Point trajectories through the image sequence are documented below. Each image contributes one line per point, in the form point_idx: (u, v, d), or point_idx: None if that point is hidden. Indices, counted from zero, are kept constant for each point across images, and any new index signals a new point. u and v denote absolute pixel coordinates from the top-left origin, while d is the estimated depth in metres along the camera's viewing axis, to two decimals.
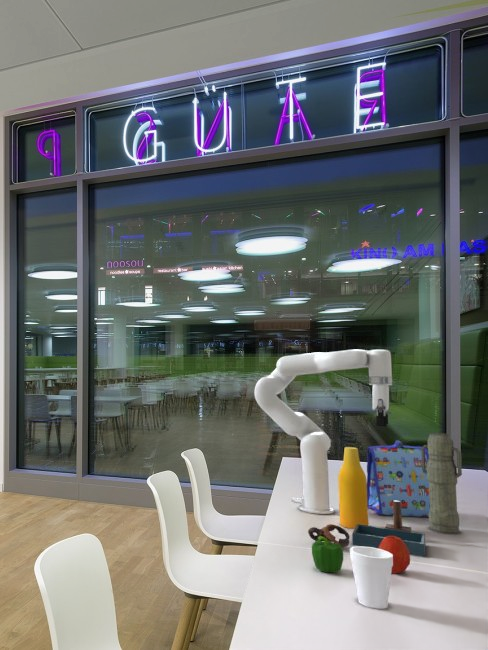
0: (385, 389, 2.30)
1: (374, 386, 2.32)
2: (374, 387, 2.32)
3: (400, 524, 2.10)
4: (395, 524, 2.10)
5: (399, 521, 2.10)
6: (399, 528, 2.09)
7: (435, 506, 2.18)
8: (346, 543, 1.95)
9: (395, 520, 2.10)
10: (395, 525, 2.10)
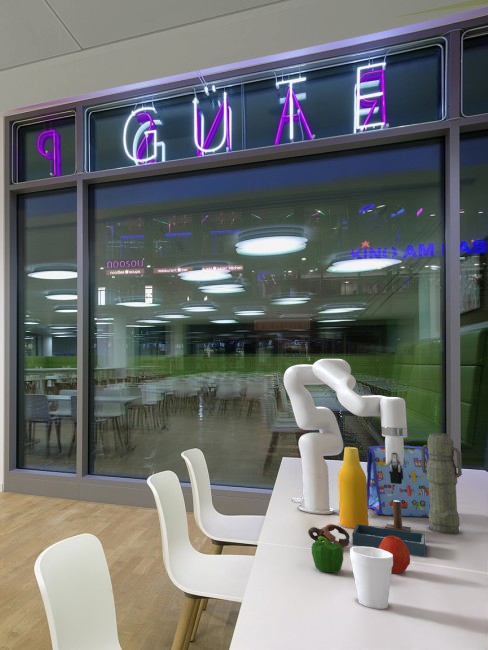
0: (400, 442, 2.08)
1: (387, 438, 2.10)
2: (387, 439, 2.10)
3: (400, 524, 2.10)
4: (395, 524, 2.10)
5: (399, 521, 2.10)
6: (399, 528, 2.09)
7: (435, 506, 2.18)
8: (346, 543, 1.95)
9: (395, 520, 2.10)
10: (395, 525, 2.10)
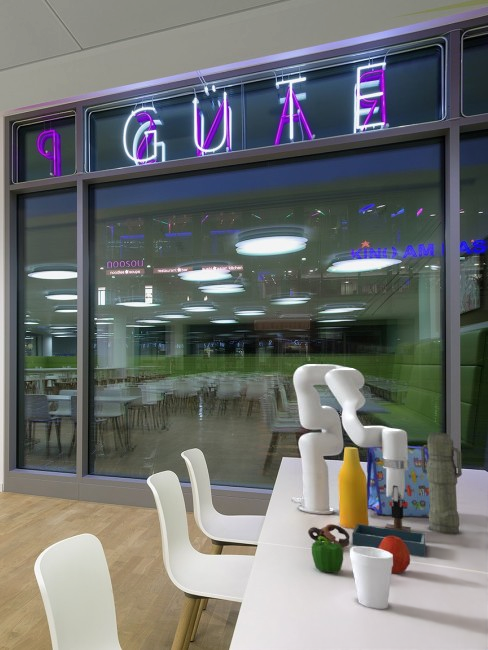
0: (401, 475, 2.08)
1: (388, 471, 2.10)
2: (388, 472, 2.10)
3: (400, 524, 2.10)
4: (395, 524, 2.10)
5: (399, 521, 2.10)
6: (399, 528, 2.09)
7: (435, 506, 2.18)
8: (346, 543, 1.95)
9: (395, 520, 2.10)
10: (395, 525, 2.10)
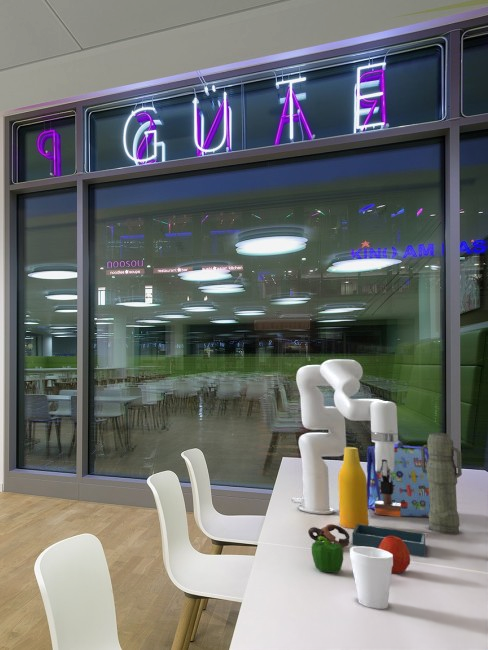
0: (390, 448, 1.99)
1: (377, 444, 2.01)
2: (377, 445, 2.01)
3: (390, 500, 2.01)
4: (385, 500, 2.01)
5: (388, 497, 2.01)
6: (389, 504, 2.00)
7: (435, 506, 2.18)
8: (346, 543, 1.95)
9: (385, 496, 2.01)
10: (385, 501, 2.01)
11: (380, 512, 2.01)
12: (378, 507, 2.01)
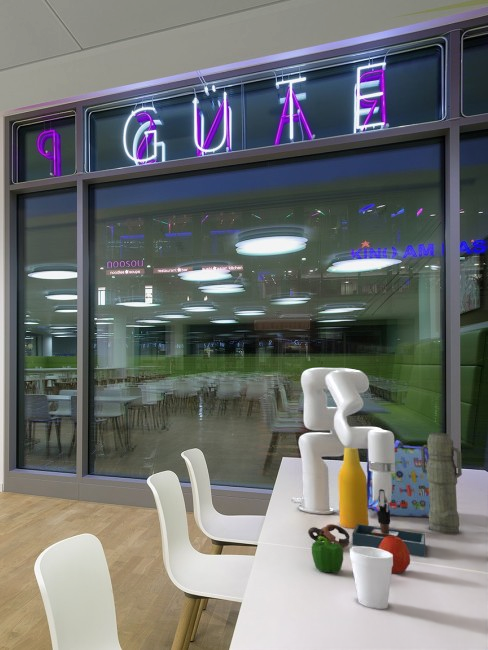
0: (387, 478, 1.98)
1: (374, 474, 2.00)
2: (374, 475, 2.00)
3: (387, 529, 2.00)
4: (382, 529, 2.01)
5: (385, 526, 2.00)
6: (386, 533, 1.99)
7: (435, 506, 2.18)
8: (346, 543, 1.95)
9: (381, 525, 2.01)
10: (382, 530, 2.01)
11: None
12: None
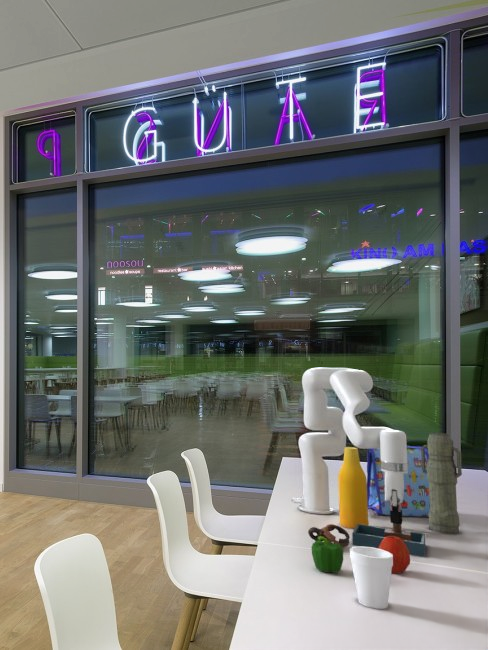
0: (400, 478, 1.98)
1: (387, 474, 2.00)
2: (387, 475, 2.00)
3: (400, 529, 2.00)
4: (394, 529, 2.01)
5: (398, 525, 2.00)
6: (399, 533, 2.00)
7: (435, 506, 2.18)
8: (346, 543, 1.95)
9: (394, 524, 2.01)
10: (394, 530, 2.01)
11: None
12: None
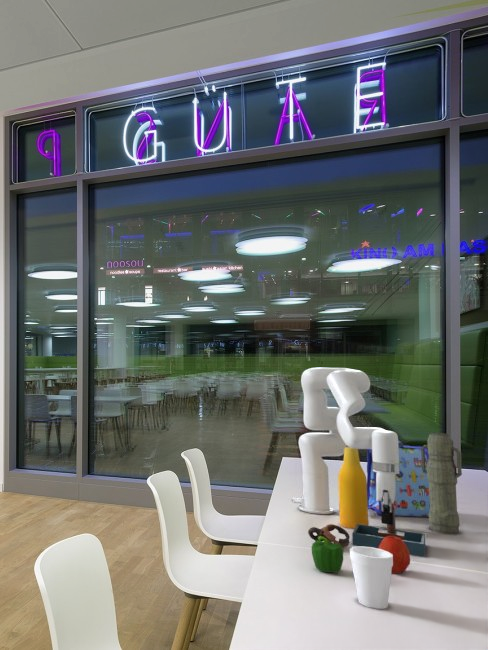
0: (391, 479, 1.98)
1: (378, 474, 2.01)
2: (378, 475, 2.00)
3: (393, 529, 2.00)
4: (388, 529, 2.01)
5: (392, 526, 2.00)
6: (392, 533, 1.99)
7: (435, 506, 2.18)
8: (346, 543, 1.95)
9: (388, 525, 2.01)
10: (388, 530, 2.01)
11: None
12: (382, 536, 2.01)
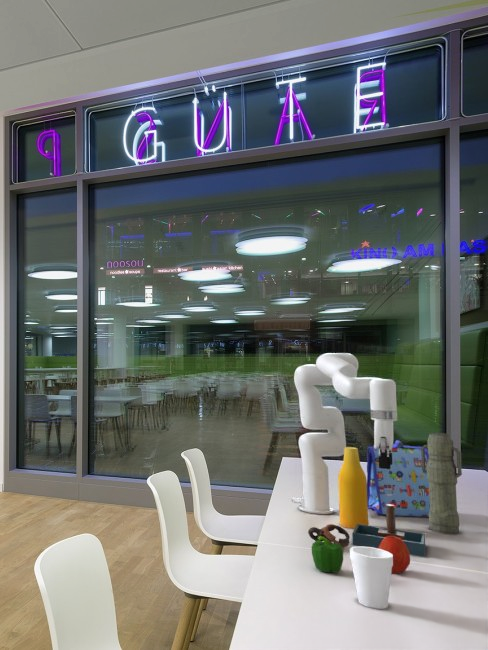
0: (389, 425, 1.99)
1: (376, 421, 2.02)
2: (376, 423, 2.02)
3: (393, 529, 2.00)
4: (388, 529, 2.01)
5: (392, 526, 2.00)
6: (392, 533, 1.99)
7: (435, 506, 2.18)
8: (346, 543, 1.95)
9: (388, 525, 2.01)
10: (388, 530, 2.01)
11: None
12: (382, 536, 2.01)
